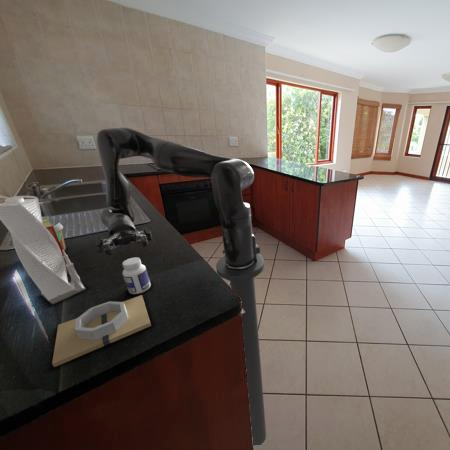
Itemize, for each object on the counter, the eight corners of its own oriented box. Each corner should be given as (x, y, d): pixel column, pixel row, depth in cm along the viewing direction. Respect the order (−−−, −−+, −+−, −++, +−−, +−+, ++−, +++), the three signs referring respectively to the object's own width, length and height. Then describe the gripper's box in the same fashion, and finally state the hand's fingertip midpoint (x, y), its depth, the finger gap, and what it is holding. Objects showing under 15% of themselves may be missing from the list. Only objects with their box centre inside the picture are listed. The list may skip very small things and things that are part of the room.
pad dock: (142, 298, 62) (139, 287, 61) (151, 325, 54) (147, 314, 52) (59, 328, 53) (53, 316, 51) (54, 367, 44) (46, 354, 43)
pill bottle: (149, 280, 69) (142, 254, 66) (152, 289, 65) (144, 262, 62) (128, 287, 66) (119, 259, 63) (129, 297, 62) (119, 269, 59)
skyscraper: (44, 308, 58) (-13, 199, 47) (32, 297, 62) (-24, 193, 51) (86, 289, 65) (44, 190, 54) (73, 280, 69) (31, 185, 58)
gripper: (92, 225, 76) (92, 243, 64) (143, 215, 84) (152, 230, 73) (99, 245, 79) (101, 267, 67) (148, 234, 87) (157, 252, 76)
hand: (127, 248), depth 70 cm, fingers open, 8 cm apart
